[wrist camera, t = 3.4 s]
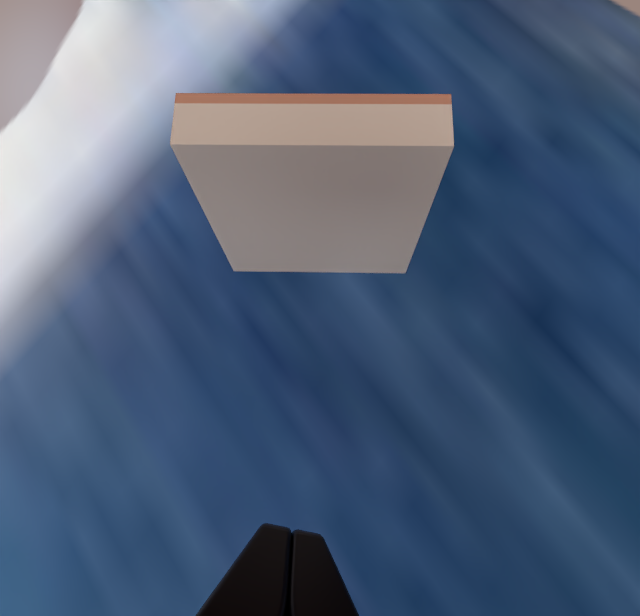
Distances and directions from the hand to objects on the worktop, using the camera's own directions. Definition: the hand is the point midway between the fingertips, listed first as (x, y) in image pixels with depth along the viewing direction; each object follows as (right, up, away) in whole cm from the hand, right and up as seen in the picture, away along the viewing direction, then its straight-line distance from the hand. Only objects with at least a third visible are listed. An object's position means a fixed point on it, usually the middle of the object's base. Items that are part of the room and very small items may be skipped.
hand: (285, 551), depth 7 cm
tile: (0, +5, +15) cm, 16 cm away
